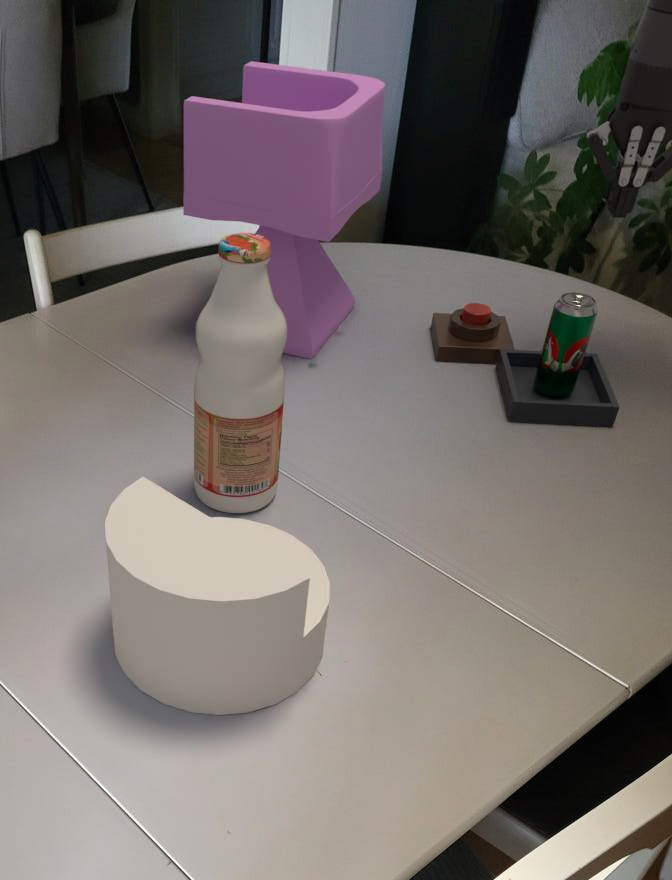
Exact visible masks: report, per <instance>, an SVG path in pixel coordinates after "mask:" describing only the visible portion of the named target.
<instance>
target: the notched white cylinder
mask: <svg viewBox="0 0 672 880" xmlns="http://www.w3.org/2000/svg"><path fill="white" fill-rule="evenodd" d="M104 532H105V545H106V557H107V559H106V560H107V571H108V584H109V585H108V586H109V595H110V596H109V598H110V609H111V610H110V611H111V623H112V634H113V646H114V656H115V658H116V660H117V662H118V664H119V666H120V668H121V670H122V672H123V674H124V675H125V676H126V677H127V679H129V680H130V682H132V684H133V685H134V686H135V687H137V689H138V690H140V691H141V692H143V693H145V694H146V695H148V696H150V697H151V698H153V699H155V700H156V701H158V702H159V703H161V704H163V705H166V706H170V707H173V708H176V709H179V710H182V711H185V712H188V713H196V714H204V715H205V714H206V715H214V716H225V715H226V716H227V715H234V714H235V715H236V714H247V713H252V712H254V711H258V710H261V709H264V708H267V707H271V706H275V705H277V704H278V703H280V702H282V701H284V700H285V699H287V698H289V697H291V696H292V695H294V694H297V692H299V691H300V690H301V689H302V688H303V687H304V685H306V684H307V683H308V681H309V680H311V678H312V677H313V676H314V675H315V673H316V671H317V669H318V667H319V664H320V662H321V660H322V658H323V654H324V645H325V639H326V638H325V636H326V629H327V624H328V623H327V622H328V614H329V606H330V597H331V595H330V592H331V582H330V579H329V576H328V574H327V570H326V567H325V565H324V563H323V562H322V561H321V560H320V559H319V557H318V556H317V555H316V553H315V552H314V551H313V550H312V549H311V548H310V547H309V546H308V545H307V544H304V543H303V542H302V541H301V540H299V539H298V538H296V536H294V535H292V534H289V533H288V532H286V531H284V530H281V529H279V528H277V527H275V526H272V525H269V524H266V523H262V522H258V521H256V520H255V521H254V520H251V519H247V518H237V517H224V516H214V517H212V516H211V517H210V516H208V515H207V514H205V513H204V512H202V511H201V510H200V509H197V508H195V507H194V506H193V505H191V504H189V503H187V502H186V501H184V500H183V499H181V498H179V497H178V496H175V494H173V493H171V492H169V491H168V490H167V489H164V488H162V487H161V486H159V485H158V484H156V483H154V482H153V481H151V480H149V479H148V478H146V477H144V476H141V477H140V478H138V479H137V480H136V481H134V482H133V483H131V484H130V485H128V486H127V487H125V488H124V489H123V490H122V491H121V492H120V493H119V495H118V496H117V497H116V498H115V500H114V501H113V502H112V503H111V504H110V507H109V510H108V513H107V515H106V517H105V521H104Z"/></svg>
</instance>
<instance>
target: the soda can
mask: <svg viewBox="0 0 672 880" xmlns="http://www.w3.org/2000/svg"><path fill="white" fill-rule="evenodd" d="M597 304H598V302H597V299H596V298H594V297H593V296H592V295H589V294H586V293H583V292H582V293H581V292H573V291H572V292H565V293H562V294H561V295H560V296H559V297H558V300H557V301H556V302H554V304H553V307H552V312H551V316H550V319H549V322H548V328H547V330H546V334H545V338H544V342H543V346H542V349H541V351H542V352H541V356H540V360H539V363H538V367H537V371H536V374H535V378H534V382H533V385H534V387H535V389H536V390H537V392H538V393H540V394H542V395H544V396H546V397H551V398H563V397H566V396H568V395H569V394H571V393H572V392H573V391H574V388H575V385H576V382H577V378H578V375H579V372H580V369H581V365H582V362H583V359H584V355H585V353H587V352H586V351H587V348H588V345H589V342H590V338H591V335H592V333H593V328H594V325H595V322H596V318H597V316H598V312H599V311H598V308H597Z"/></svg>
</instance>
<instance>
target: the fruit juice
mask: <svg viewBox="0 0 672 880" xmlns="http://www.w3.org/2000/svg"><path fill="white" fill-rule="evenodd" d="M217 251H218V252H217V255H218V260H219V262H220V264H221V265H220V269H219V272H218V276H217V279H216V282H215V285H214V287H213V289H212V293H211V295H210V297H209V298H208V301H207V302H206V304H205V306H203V309H202V310H201V311H200V313H199V315H198V318H197V320H198V321H197V320H196V322H197V325H196V324H195V340H196V345H197V350H198V352H199V361H198V363H197V365H196V369H195V374H194V385H193V485H194V491H195V494H196V496H197V498H198V499H199V501H201V503H203V504H204V505H205V506H207V507H209V508H211V509H213V510H216V511H219V512H222V513H227V514H228V513H229V514H247V513H251V512H255V511H258V510H260V509H262V508H265V507H266V506H267V505H269V504H270V503H271V502H272V501H273V499H274V498H275V495H276V493H277V489H278V485H279V472H280V471H279V470H280V458H281V457H280V456H281V443H282V431H283V430H282V429H283V417H284V416H283V415H284V405H285V404H284V403H285V393H286V379H285V378H286V377H285V376H286V375H285V370H284V366H283V364H282V356H283V354H284V353H283V351H284V348H285V345H286V341H287V323H286V319H285V316H284V314H283V312H282V311H281V309H280V307H279V306H278V305H277V303H276V302H275V299H274V296H273V293H272V290H271V286H270V282H269V278H268V273H267V264H268V262H269V260H270V255H271V244H270V241H269V240H268V239H267V238H265V237H263V236H261V235H258V234H255V233H251V232H237V233H231V234H228V235H225V236H223V237H222V238H221V239H220V240H219V243H218V249H217Z"/></svg>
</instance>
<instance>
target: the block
mask: <svg viewBox="0 0 672 880" xmlns="http://www.w3.org/2000/svg"><path fill="white" fill-rule="evenodd" d="M463 310H464V307H463V308H458V309H456V310H454V311H453V312H452V313H444V312H443V313H442V312H433V314H432V318H431V323H430V333H431V338H432V344H433V350H434V356H435V361H436V362H447V363H469V364H473V363H474V364H487V365H488V364H489V365H490V364H491V365H496V363H497V359H498V354H499V350H500V349H507V350H516V348H515V345H514V342H513V338H512V335H511V332H510V328H509V324H508V321H507V318H506V316H505V315H498V314H496V313H494V312H493V311H491V314H490V318H489V323H488V324H486V325H482V326H481V325H471V324H468V323H465V322H463V321H462V315H463Z"/></svg>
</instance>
